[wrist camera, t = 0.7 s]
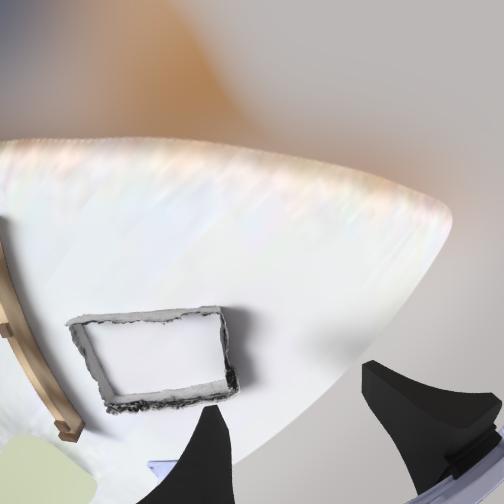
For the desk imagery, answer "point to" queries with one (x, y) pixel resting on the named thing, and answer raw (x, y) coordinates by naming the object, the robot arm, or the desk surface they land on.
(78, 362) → the desk surface
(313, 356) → the desk surface
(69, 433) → the ledge
